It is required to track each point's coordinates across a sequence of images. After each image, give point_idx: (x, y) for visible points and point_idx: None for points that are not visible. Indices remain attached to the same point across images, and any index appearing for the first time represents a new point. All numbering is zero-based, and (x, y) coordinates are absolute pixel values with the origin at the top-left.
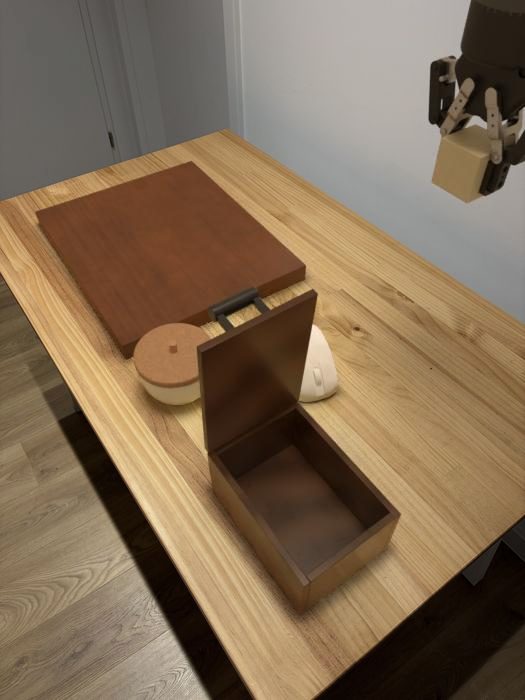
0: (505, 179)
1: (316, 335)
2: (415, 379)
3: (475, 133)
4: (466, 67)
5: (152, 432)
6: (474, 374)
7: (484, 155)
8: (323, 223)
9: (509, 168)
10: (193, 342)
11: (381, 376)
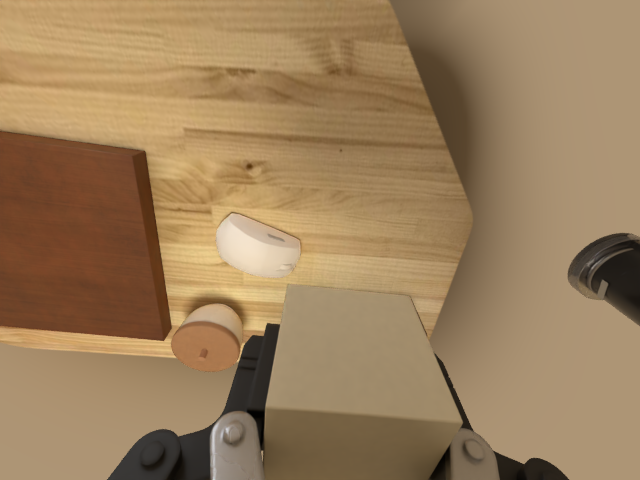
0: (449, 379)
1: (253, 251)
2: (338, 174)
3: (315, 447)
4: None
5: (245, 343)
6: (379, 119)
7: None
8: (26, 24)
9: (464, 412)
10: (204, 338)
11: (313, 196)
